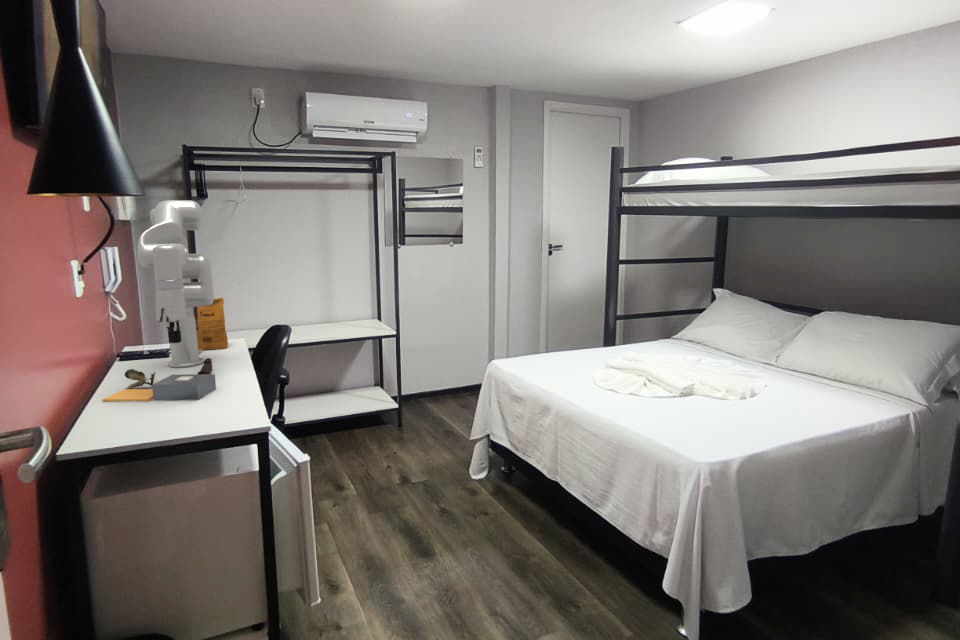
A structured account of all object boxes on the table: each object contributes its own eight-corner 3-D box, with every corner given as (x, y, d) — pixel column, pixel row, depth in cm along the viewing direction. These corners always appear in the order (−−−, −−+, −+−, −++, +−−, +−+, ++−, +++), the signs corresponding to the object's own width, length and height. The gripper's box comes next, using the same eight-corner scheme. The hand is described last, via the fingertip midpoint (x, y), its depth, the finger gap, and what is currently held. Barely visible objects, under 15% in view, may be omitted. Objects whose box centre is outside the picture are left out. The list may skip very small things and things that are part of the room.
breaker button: (182, 388, 189) (181, 376, 189) (194, 388, 189) (193, 376, 189) (175, 392, 186) (174, 379, 185) (188, 392, 185) (187, 379, 185)
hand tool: (209, 381, 204) (208, 368, 203) (197, 382, 203) (196, 369, 202) (218, 368, 222) (217, 356, 221) (206, 369, 221) (205, 357, 220)
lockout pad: (124, 391, 191) (124, 389, 191) (166, 391, 191) (166, 389, 191) (102, 401, 181) (102, 399, 181) (147, 401, 180) (147, 399, 180)
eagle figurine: (154, 379, 201) (124, 378, 197) (156, 365, 197) (125, 363, 193) (152, 396, 196) (121, 395, 192) (153, 382, 192) (121, 380, 188)
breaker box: (174, 389, 194) (172, 374, 193) (216, 389, 193) (214, 374, 193) (153, 400, 182) (151, 384, 181) (198, 400, 182) (196, 384, 181)
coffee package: (197, 347, 259) (193, 297, 256) (228, 344, 264) (224, 296, 260) (196, 351, 250) (191, 300, 247) (228, 349, 255) (224, 298, 251)
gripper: (170, 282, 191) (175, 337, 194) (144, 288, 176) (150, 347, 179) (193, 282, 191) (198, 337, 194) (169, 287, 176) (175, 347, 179)
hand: (175, 342), depth 186 cm, fingers closed
